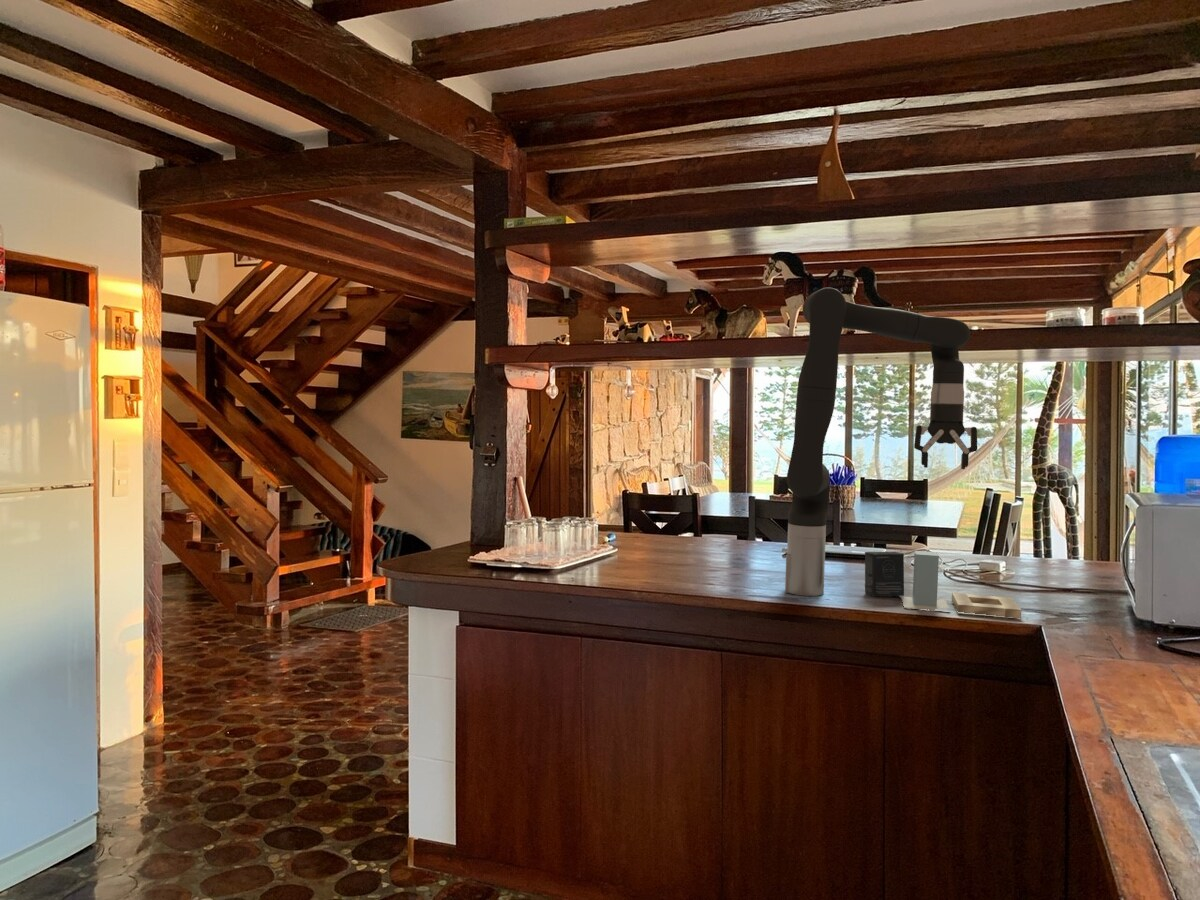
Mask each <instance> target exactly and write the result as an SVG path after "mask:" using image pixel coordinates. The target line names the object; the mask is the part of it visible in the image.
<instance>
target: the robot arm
mask: <svg viewBox="0 0 1200 900" xmlns="http://www.w3.org/2000/svg"><path fill="white" fill-rule="evenodd" d="M802 314H803V317H804V320H805V321H806V322H807V323H808V324H809V334H808V335H809V336H808V337H809V338H808V346H807V349H806V354H805V356H804V360H803V362H802V366H801V370H800V372H799V376H798V382H797V391H796V401H795V412H794V413H795V414H794V415H795V416H794V434H793V435H794V436H793V444H792V449H791V450H792V451H791V455H790V460H789V465H788V470H787V474H786V482H787V486H788V489H789V491H790V492H791V493H792V496H791V506H790V509H789V511H788V517H787V519H788V520H787V548H786V550H787V551H786V556H785V578H784V581H785V582H784V583H785V584H784V588H785V589H784V593H785V594H786V593H787V594H792V595H797V596H810V597H811V596H821V595H824V592H825V591H824V590H825V565H826V563H825V562H826V533H827V518H828V513H829V508H830V507H829V506H830V503H829V502H830V490H831V489H830V488H831V479H830V478H831V476H830V472H829V470H828V468H827V467H826V465H825V464H824V463H823V462H824V461H823V460H824V458H823V457H824V444H825V440H826V436H827V432H828V430H829V427H830V424H831V421H832V418H833V414H834V411H835V404H836V395H837V384H838V383H837V381H838V372H839V371H838V370H839V369H838V368H839V350H840V341H841V336H842V332H843V329H848V330H849V329H850V330H855V331H861V332H867V333H871V334H874V335H879V336H883V337H887V338H892V339H896V340H900V341H905V342H911V343H925V344H927V343H928V344H930V353H931V354H930V355H931V360H932V364H933V369H932V370H933V371H932V387H931V392H930V400H929V401H930V409H929V410H930V414H929V425H928V426H922V425H919V424H918V425H916V427H915V433H914V434H915V435H914V444H913V447H914V449H915V450H916V451H920V452H921V460H920V461H921V465H922V466H923V467H924V468H925V469H926V468H929V467H928V465H929V450H930V449H931V448H932V446H933V445H935V444H936V443H937V444H940V445H941V444H942V445H943V444H948V445H949V444H950V445H953V444H956V445H957V446H958V447H959V448H960V450H961V452H962V453H961V459H960V461H961V462H960V469H961V470H966V468H968V466H969V457H970V456H969V455H970V454H971V453H974V452H977V451H978V428H977V427H975V426H971V427H970V426H969V427H965V426H964V410H965V408H964V407H965V405H964V404H965V390H964V382H965V381H964V379H965V365H964V363H963V361H961V360H960V352H959V349H960V348H962V347H964V346H965V345H966V344H967V343H968V342H969V340H970V337H971V331H970V327H969V326H968V325H967V324H966V323H965V322H964V321H962V320H960V319H956V318H951V317H942V316H931V315H925V314H921V313H917V312H912V311H908V310H903V309H898V308H890V307H880V306H879V307H877V306H868V305H864V304H863V305H862V304H858V303H853V302H850V301H848V300H846V298H845V296H844V294H843V293H842V292H841V291H839V290H838V289H836V288H833V287H823V288H821V289H819V290H815V291H814V292H813V293H811V294H810V295H808V296H807V297H806V299H805V300H804V302H803V305H802ZM926 432H928V433H929V435H930V436H931V437H930V438H929V439H928V441H927V442H926V443H925V444H924V445H923V446H922V445H921V439H922V435H925V434H926ZM964 433H966V434H967V436H969V437H970V446H969V447H967V446H966V444H965V443H964V442H963V440H962V438H961V437H962V435H964Z"/></svg>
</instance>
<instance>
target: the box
mask: <svg viewBox="0 0 1200 900" xmlns="http://www.w3.org/2000/svg"><path fill="white" fill-rule="evenodd" d="M904 555H905V554H904V553H903V552H898V551H865V552H864V581H865V582H864V592H865V594H867V595H869V596H872V597H899V596H900V597H901V596H903V597H905V569H904V568H905V563H904V562H905V561H904V560H905V557H904Z"/></svg>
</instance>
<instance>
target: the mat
mask: <svg viewBox="0 0 1200 900" xmlns="http://www.w3.org/2000/svg"><path fill="white" fill-rule="evenodd" d="M900 597H901V598H900V599H901V603H902V602H903V603H902V606H904V607H903V609H904V608H914V609H927V610H928V609H929V610H935V609H940V608H943V607H944V608H946V607H947V608H949V609H950V607H949V605H948V602H947V601H946V599H940V598H939V599H938V598H937V607H933V606H921V605H914V604H913V596H900Z"/></svg>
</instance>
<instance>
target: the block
mask: <svg viewBox="0 0 1200 900" xmlns="http://www.w3.org/2000/svg"><path fill="white" fill-rule="evenodd" d="M913 555H914V556H913V557H914V559H913V582H912V597H913V604H914V605H921V606H933V607H937V599H938V587H939V586H938V585H939V583H938V582H939V581H938V580H939V561H940V559H939V558H940V555H939V554H938V552H934V551H922V550H921V551H919V550H914V554H913Z"/></svg>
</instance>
